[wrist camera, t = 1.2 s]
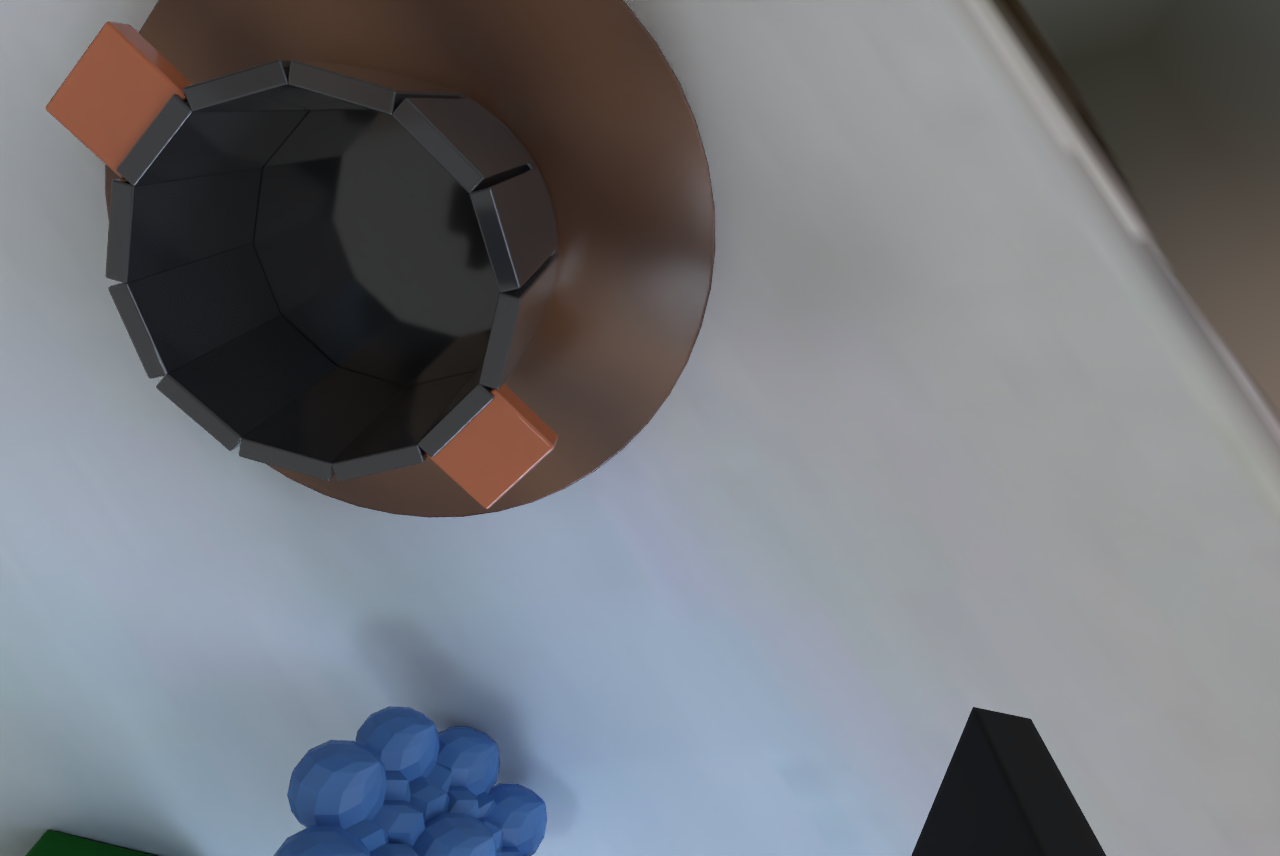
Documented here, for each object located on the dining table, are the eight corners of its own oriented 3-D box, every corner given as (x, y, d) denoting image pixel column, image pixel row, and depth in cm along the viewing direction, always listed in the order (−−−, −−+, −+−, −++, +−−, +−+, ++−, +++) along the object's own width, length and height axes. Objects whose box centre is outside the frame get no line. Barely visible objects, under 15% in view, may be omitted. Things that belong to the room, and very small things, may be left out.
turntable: (387, -265, 23) (365, -291, 21) (837, 243, 27) (846, 252, 25) (24, 224, 28) (-14, 231, 26) (447, 593, 32) (434, 617, 30)
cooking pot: (334, -55, 23) (198, -115, 17) (666, 292, 26) (658, 354, 19) (142, 191, 26) (-41, 221, 19) (463, 484, 28) (396, 595, 22)
